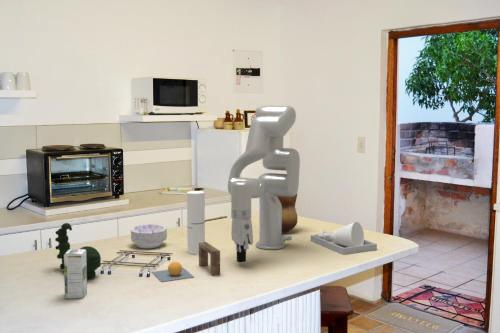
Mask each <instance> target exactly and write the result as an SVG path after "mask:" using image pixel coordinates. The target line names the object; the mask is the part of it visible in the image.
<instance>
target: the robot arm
mask: <svg viewBox="0 0 500 333" xmlns="http://www.w3.org/2000/svg"><path fill="white" fill-rule="evenodd" d="M254 116H255V117H253V118H252V119H251V122H250V126H249V130H248V131H249V132H248V135H247V139H246V140H247V142H246V147H245V150H244V152H243V153H242V154H241V155H240V156H239V157H238V158H237V159H236V161H235V162H234V163H233V164H232V165H231V168H230V171H229V175H228V179H227V181H228V182H227V192H228V193H229V195H230V197H231V198H230V204H231V206H230V207H231V208H230V209H231V210H230V214H231V215H230V216H231V217H230V218H231V232H230V234H231V241H233V242H234V244H235V251H236V262H238V263H245V262H247V250H249V249H250V246H249V245H251V246H252V245H253V244H254V234H253V232H254V231H253V222H252V199H259V240H258V241H257V242H256V243H255V246H256V248H259V249H262V250H281V249H284V248H285V246H286V243H285V242H286V241H292V238H293V237H292V236H291V235H287V236H286V234H285V235H283V232H282V205H281V202H280V201H279V199H278V197H277V196H285V197H293V196H295V195H296V194H297V195H298V191H299V186H300V185H299V183H300V168H301V167H300V165H301V159H300V153H299V152H298V150H297V149H295V148H292V147H291V148H290V147H284V139H285V138H284V137H285V136H286V135H287V134H288V133H289V131H290V130H291V129H292V127H293V126H294V124H295V123H296V120H297V114H296V109H295V108H294V107H293V106H289V105H263V106H258V107H257V108H256V109H255V113H254ZM261 160H262V165H263V168H265V169H266V170H271V171H285V172H286V173H276V172H266V173H265V172H264V173H262V174H260V175H259V177H257V178H252V177H241V174H242V172H243V171H244V169H246V168H247V167H248V166H249V165H252V164H254V163H255V162H258V161H261Z"/></svg>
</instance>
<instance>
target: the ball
mask: <svg viewBox="0 0 500 333" xmlns="http://www.w3.org/2000/svg"><path fill="white" fill-rule="evenodd" d="M182 268H183V266H182V264H181V263H180V262H179V261H172V262H170V263H169V264H168V267H167V270H168V272H169V273H170V274H171V275H173V276H177V275H179V274H180V273H181V272H182Z"/></svg>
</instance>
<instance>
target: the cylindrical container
mask: <svg viewBox="0 0 500 333" xmlns="http://www.w3.org/2000/svg"><path fill="white" fill-rule="evenodd" d="M205 199H206V198H205V191H202V190H190V191H187V192H186V207H187V208H186V217H187V218H186V221H187V223H186V224H187V225H186V226H187V230H186V231H187V233H186V234H187V235H186V236H187V253H188V254H190V255H199V243H201V242H206V231H205V228H206V226H205V224H206V223H205V222H206V216H205V215H206V214H205V211H206V210H205V208H206V207H205Z"/></svg>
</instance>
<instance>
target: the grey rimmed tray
mask: <svg viewBox="0 0 500 333" xmlns="http://www.w3.org/2000/svg"><path fill="white" fill-rule="evenodd" d="M330 233H331V234H332V233H333V232H330ZM321 234H322V233H318V234H311V235H310V240H309V241H310V242H313V243H314V244H317V245H320V246H322V247H324V248H327V249H330V250H332V251H333V252H336V253H339V254H340V255H342V256H343V255H350V254H356V253H363V252H371V251H377V250H378V243H375V242H372V241H369V240H367V239H364V244H363V245H361V246H353V247H346V246H345V247H343V246H342V245H341V246H340V245H338V244H336V243H334V242H328V241H326V240H324V237H318V235H321ZM328 234H329V232H328Z"/></svg>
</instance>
